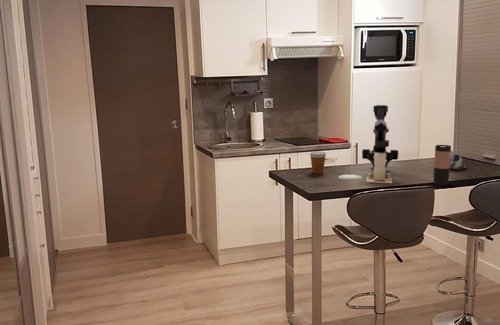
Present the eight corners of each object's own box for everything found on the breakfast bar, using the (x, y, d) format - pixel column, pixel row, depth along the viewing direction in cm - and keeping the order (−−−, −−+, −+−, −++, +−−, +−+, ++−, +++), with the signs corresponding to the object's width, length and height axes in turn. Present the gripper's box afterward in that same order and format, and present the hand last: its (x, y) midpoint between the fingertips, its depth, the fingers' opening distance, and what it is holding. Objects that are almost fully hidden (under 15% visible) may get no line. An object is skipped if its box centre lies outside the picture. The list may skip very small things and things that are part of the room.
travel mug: (430, 182, 252) (432, 144, 248) (444, 181, 252) (446, 144, 249) (437, 185, 244) (439, 147, 240) (451, 184, 245) (454, 146, 241)
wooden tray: (366, 178, 262) (367, 172, 261) (391, 179, 259) (391, 173, 258) (366, 183, 250) (366, 177, 249) (392, 185, 246) (392, 178, 246)
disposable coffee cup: (315, 175, 273) (316, 154, 271) (306, 172, 281) (306, 152, 279) (329, 173, 277) (329, 153, 275) (319, 170, 286) (319, 150, 283)
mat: (334, 177, 266) (334, 175, 265) (354, 175, 270) (354, 173, 270) (346, 182, 254) (346, 180, 253) (366, 180, 258) (367, 178, 258)
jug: (373, 177, 258) (374, 152, 255) (384, 177, 256) (386, 152, 253) (373, 180, 250) (374, 154, 247) (385, 181, 248) (386, 155, 245)
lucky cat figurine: (466, 170, 280) (458, 150, 275) (445, 176, 285) (437, 157, 280) (462, 158, 293) (455, 140, 288) (442, 165, 297) (435, 146, 293)
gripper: (362, 134, 255) (361, 158, 247) (398, 135, 251) (399, 159, 243) (362, 146, 265) (361, 169, 256) (397, 147, 260) (397, 171, 252)
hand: (379, 167), depth 251 cm, fingers closed on jug, 6 cm apart
